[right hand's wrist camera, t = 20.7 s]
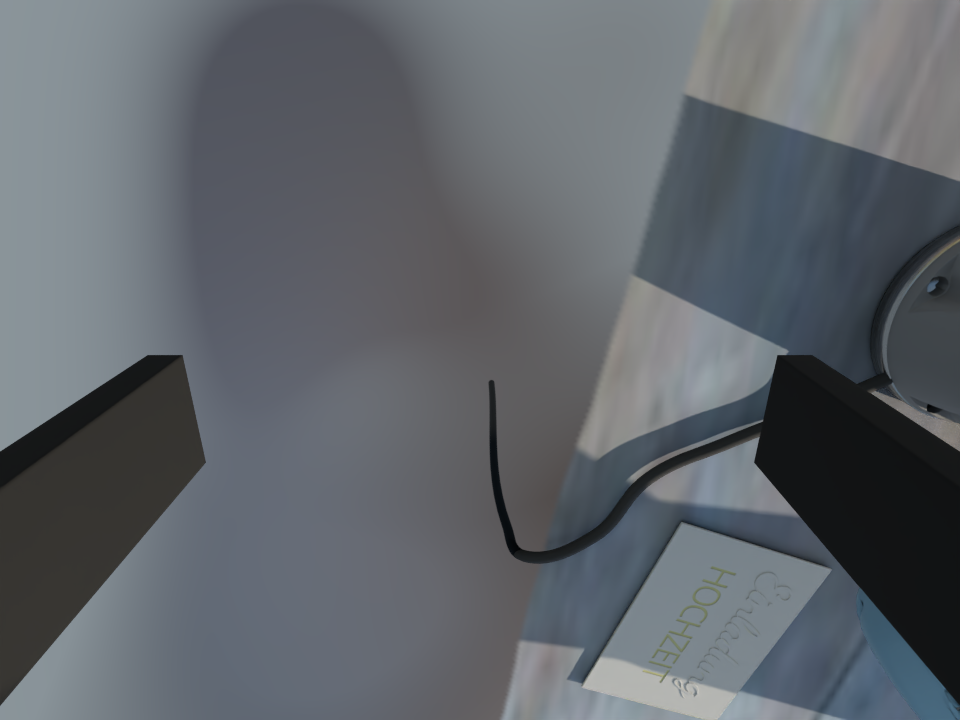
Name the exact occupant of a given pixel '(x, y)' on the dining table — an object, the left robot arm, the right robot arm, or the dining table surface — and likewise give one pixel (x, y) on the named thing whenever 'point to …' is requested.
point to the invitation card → (703, 622)
